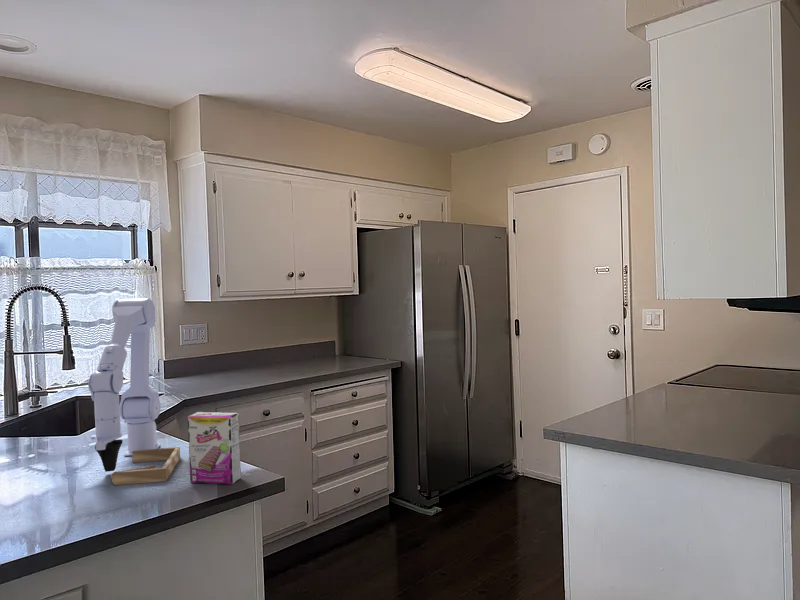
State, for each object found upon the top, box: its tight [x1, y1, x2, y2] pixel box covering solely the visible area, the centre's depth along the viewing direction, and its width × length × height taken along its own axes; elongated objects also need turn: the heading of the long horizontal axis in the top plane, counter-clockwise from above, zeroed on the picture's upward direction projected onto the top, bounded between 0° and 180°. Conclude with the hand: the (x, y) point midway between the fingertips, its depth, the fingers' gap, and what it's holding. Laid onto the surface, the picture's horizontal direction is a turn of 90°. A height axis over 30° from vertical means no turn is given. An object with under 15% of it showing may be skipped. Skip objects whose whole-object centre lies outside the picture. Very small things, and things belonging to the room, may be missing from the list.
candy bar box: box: [187, 411, 242, 485], centre depth 143 cm, size 11×5×16 cm, turn 80°
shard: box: [110, 465, 157, 484], centre depth 148 cm, size 11×8×2 cm
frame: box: [113, 446, 181, 486], centre depth 153 cm, size 19×12×3 cm, turn 11°
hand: (110, 470), depth 151 cm, fingers closed
